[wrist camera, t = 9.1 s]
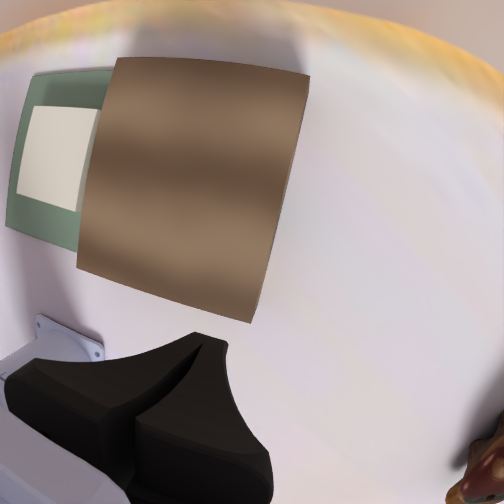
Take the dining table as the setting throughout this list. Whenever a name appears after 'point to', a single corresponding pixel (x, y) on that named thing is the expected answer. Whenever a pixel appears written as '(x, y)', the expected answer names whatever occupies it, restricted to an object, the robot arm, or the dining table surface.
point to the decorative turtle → (482, 472)
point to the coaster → (58, 155)
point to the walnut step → (190, 179)
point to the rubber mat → (19, 206)
